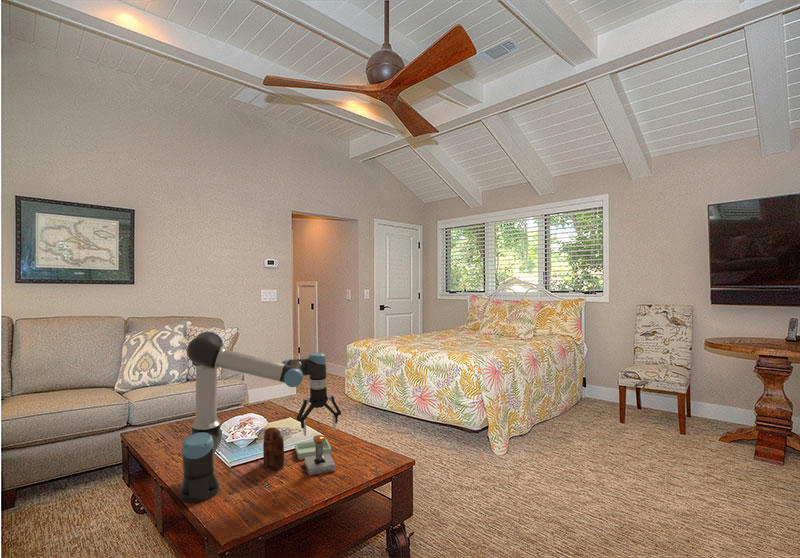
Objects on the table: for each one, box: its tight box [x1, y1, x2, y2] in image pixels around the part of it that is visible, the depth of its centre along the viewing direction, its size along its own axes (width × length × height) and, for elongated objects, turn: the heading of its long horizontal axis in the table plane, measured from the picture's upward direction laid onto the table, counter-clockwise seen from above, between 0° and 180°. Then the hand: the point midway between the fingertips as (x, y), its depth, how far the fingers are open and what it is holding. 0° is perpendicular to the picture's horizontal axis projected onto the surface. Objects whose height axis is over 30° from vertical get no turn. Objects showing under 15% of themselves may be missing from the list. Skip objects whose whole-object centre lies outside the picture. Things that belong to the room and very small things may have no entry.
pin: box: [312, 434, 326, 464], centre depth 216 cm, size 5×5×14 cm
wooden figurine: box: [262, 426, 285, 471], centre depth 217 cm, size 12×6×18 cm, turn 65°
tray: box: [294, 438, 333, 461], centre depth 233 cm, size 16×12×3 cm
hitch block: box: [303, 453, 336, 476], centre depth 217 cm, size 12×12×3 cm
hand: (319, 432), depth 216 cm, fingers open, 13 cm apart
